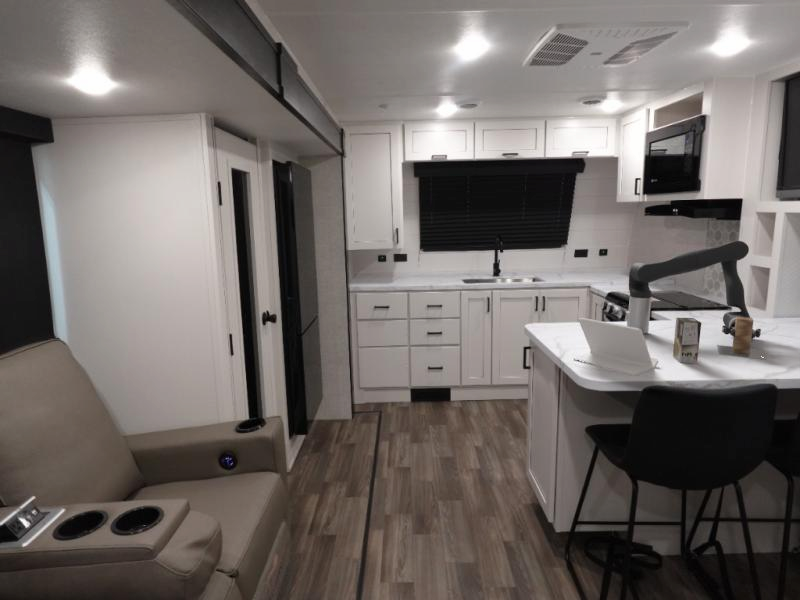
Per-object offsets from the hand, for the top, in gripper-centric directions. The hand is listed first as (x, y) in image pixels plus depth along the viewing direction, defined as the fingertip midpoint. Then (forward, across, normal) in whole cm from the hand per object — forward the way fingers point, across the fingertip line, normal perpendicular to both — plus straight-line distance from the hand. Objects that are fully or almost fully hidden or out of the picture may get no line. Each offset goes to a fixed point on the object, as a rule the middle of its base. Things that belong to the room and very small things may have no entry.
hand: (743, 335), depth 207 cm
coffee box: (+19, -20, +8) cm, 29 cm away
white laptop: (+37, -44, +8) cm, 57 cm away
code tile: (-3, 0, +8) cm, 8 cm away
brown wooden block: (-3, 0, +8) cm, 8 cm away
